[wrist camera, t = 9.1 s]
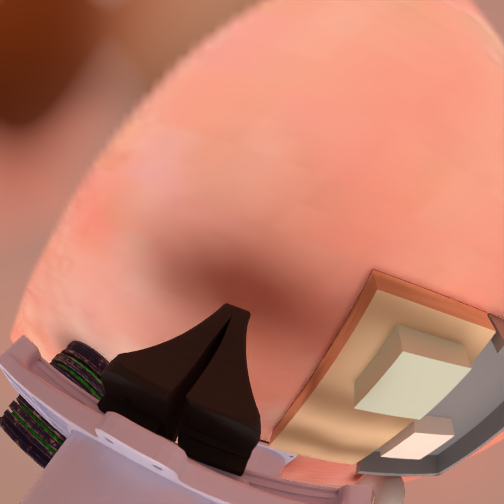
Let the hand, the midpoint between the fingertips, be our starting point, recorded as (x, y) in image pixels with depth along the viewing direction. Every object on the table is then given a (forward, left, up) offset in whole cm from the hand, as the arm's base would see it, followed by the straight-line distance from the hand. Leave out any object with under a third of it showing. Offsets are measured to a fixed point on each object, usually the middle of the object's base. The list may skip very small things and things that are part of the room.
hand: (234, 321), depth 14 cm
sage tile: (0, -10, -1) cm, 11 cm away
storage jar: (-20, +15, -3) cm, 25 cm away
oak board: (-6, -10, -3) cm, 12 cm away
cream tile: (-9, -18, -2) cm, 21 cm away
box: (-6, -21, -3) cm, 22 cm away
